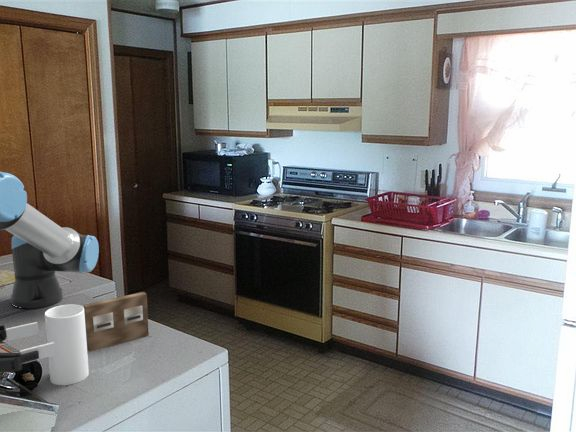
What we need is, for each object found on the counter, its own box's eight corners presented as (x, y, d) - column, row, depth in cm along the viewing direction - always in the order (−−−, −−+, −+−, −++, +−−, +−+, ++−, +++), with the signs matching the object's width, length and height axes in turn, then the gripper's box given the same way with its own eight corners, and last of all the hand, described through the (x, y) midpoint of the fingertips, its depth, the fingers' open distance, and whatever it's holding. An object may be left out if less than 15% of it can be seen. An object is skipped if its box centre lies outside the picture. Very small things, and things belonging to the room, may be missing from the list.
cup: (75, 387, 115) (69, 319, 112) (42, 383, 116) (36, 316, 113) (95, 369, 123) (91, 305, 120) (64, 366, 124) (59, 303, 121)
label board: (89, 352, 132) (86, 307, 129) (79, 340, 138) (76, 298, 136) (149, 335, 141) (147, 294, 139) (137, 326, 148) (134, 285, 145)
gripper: (-74, 360, 112) (33, 334, 125) (-61, 411, 93) (63, 375, 106) (-78, 327, 110) (30, 305, 123) (-66, 372, 91) (60, 341, 104)
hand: (45, 337), depth 115 cm, fingers open, 13 cm apart
